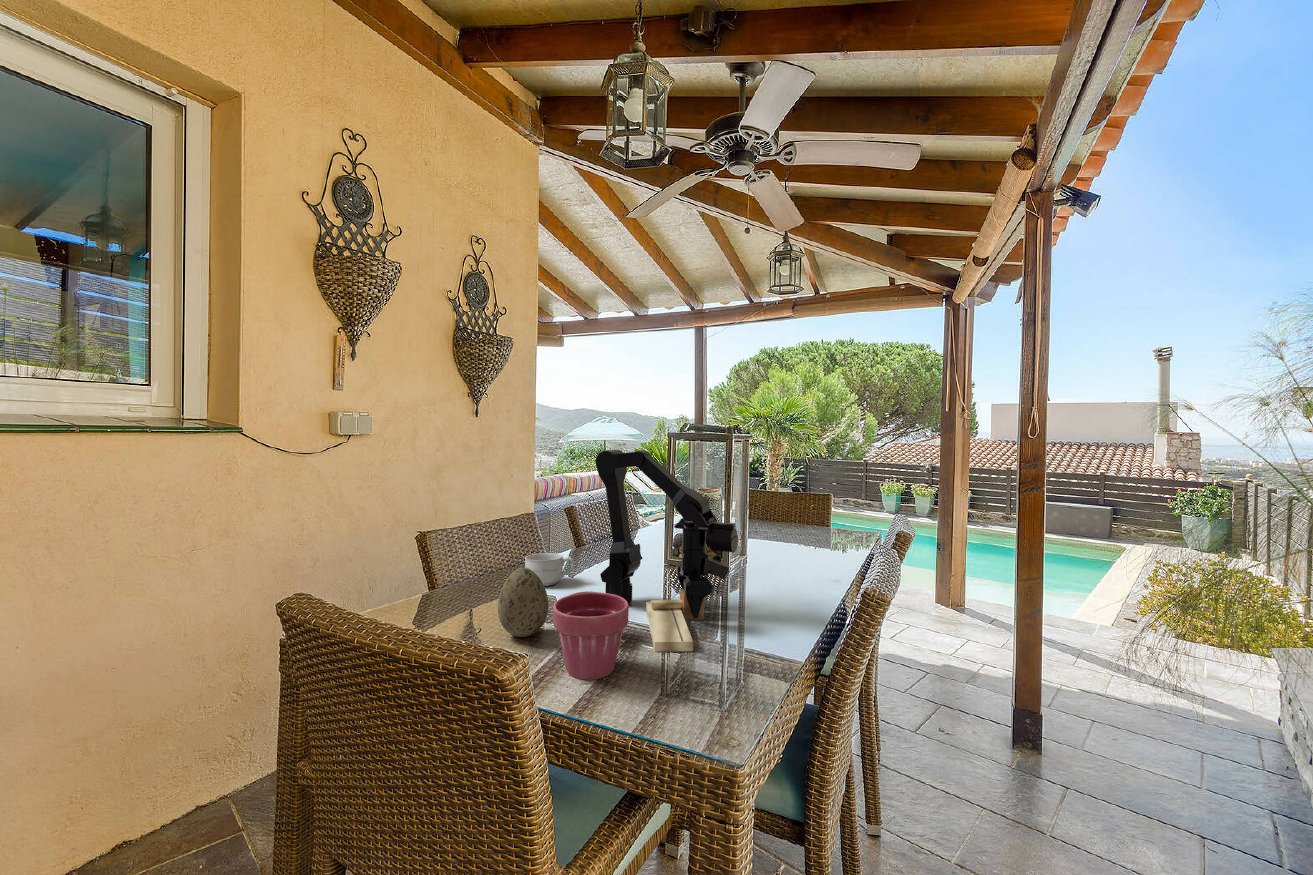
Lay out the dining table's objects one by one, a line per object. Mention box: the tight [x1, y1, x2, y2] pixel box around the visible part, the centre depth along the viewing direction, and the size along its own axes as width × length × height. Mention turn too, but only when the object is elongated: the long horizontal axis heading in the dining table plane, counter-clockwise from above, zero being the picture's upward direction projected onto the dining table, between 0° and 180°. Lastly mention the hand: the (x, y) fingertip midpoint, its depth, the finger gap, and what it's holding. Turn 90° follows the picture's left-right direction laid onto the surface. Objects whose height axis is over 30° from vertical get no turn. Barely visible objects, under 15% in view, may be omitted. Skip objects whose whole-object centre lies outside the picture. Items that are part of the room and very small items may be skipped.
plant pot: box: [552, 591, 630, 680], centre depth 109 cm, size 14×14×13 cm
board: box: [645, 601, 694, 653], centre depth 131 cm, size 8×25×2 cm, turn 5°
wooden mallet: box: [650, 588, 705, 621], centre depth 139 cm, size 12×5×6 cm, turn 99°
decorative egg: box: [497, 566, 549, 638], centre depth 125 cm, size 11×11×15 cm
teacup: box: [524, 552, 576, 587], centre depth 163 cm, size 14×11×8 cm
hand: (692, 611), depth 139 cm, fingers open, 9 cm apart
